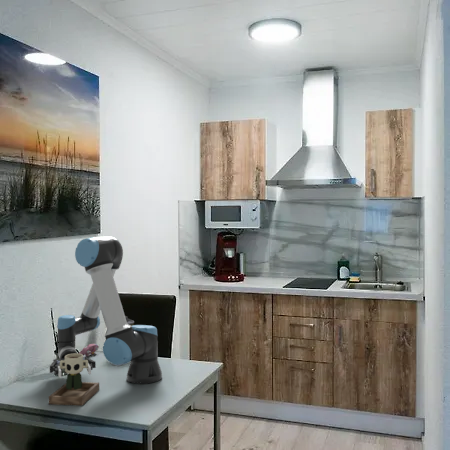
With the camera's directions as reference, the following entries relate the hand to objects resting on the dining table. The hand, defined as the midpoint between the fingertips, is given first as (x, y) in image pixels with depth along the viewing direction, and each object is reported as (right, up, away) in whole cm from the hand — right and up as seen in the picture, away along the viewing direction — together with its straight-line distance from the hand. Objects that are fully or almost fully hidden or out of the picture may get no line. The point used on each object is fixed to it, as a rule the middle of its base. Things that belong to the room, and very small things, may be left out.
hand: (75, 372), depth 205 cm
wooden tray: (-1, -11, +4) cm, 11 cm away
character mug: (-2, -8, +4) cm, 9 cm away
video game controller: (-11, -9, +64) cm, 65 cm away
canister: (+7, -9, +61) cm, 62 cm away
